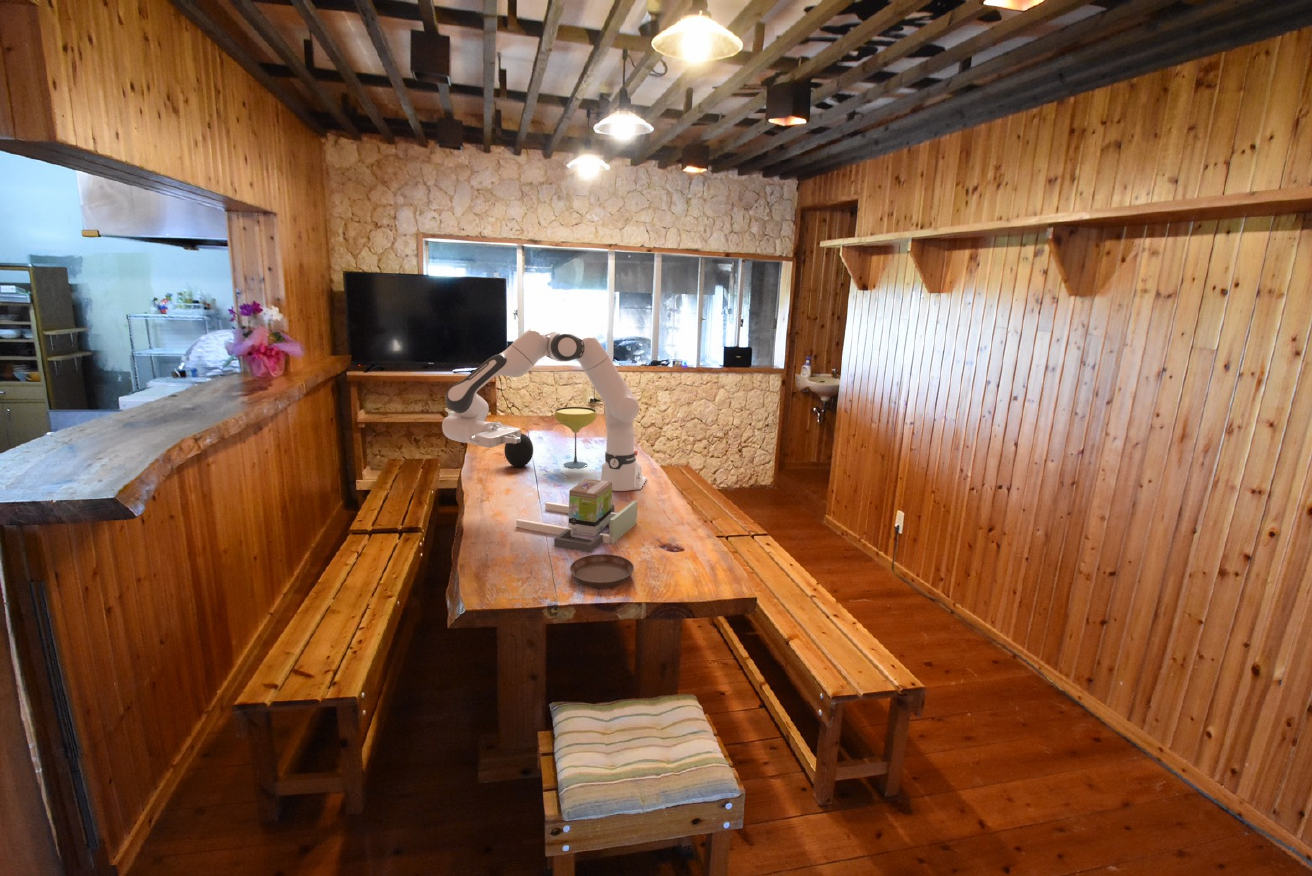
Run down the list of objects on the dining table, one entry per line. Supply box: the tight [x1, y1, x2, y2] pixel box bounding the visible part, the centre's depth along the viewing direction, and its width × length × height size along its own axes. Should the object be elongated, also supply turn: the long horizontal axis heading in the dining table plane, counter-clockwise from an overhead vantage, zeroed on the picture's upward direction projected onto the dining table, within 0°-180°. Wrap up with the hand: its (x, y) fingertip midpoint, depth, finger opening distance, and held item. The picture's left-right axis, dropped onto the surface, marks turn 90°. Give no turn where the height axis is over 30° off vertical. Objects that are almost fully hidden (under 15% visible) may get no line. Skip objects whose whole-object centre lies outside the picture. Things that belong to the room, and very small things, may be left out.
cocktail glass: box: [554, 406, 597, 469], centre depth 283 cm, size 18×18×25 cm
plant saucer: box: [569, 553, 635, 589], centre depth 176 cm, size 18×18×3 cm
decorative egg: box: [504, 432, 534, 468], centre depth 279 cm, size 12×12×15 cm
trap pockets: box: [553, 504, 616, 553], centre depth 212 cm, size 36×20×2 cm, turn 160°
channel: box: [515, 500, 638, 545], centre depth 213 cm, size 20×35×8 cm, turn 70°
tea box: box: [567, 478, 613, 537], centre depth 211 cm, size 15×10×15 cm
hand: (518, 440), depth 220 cm, fingers closed
